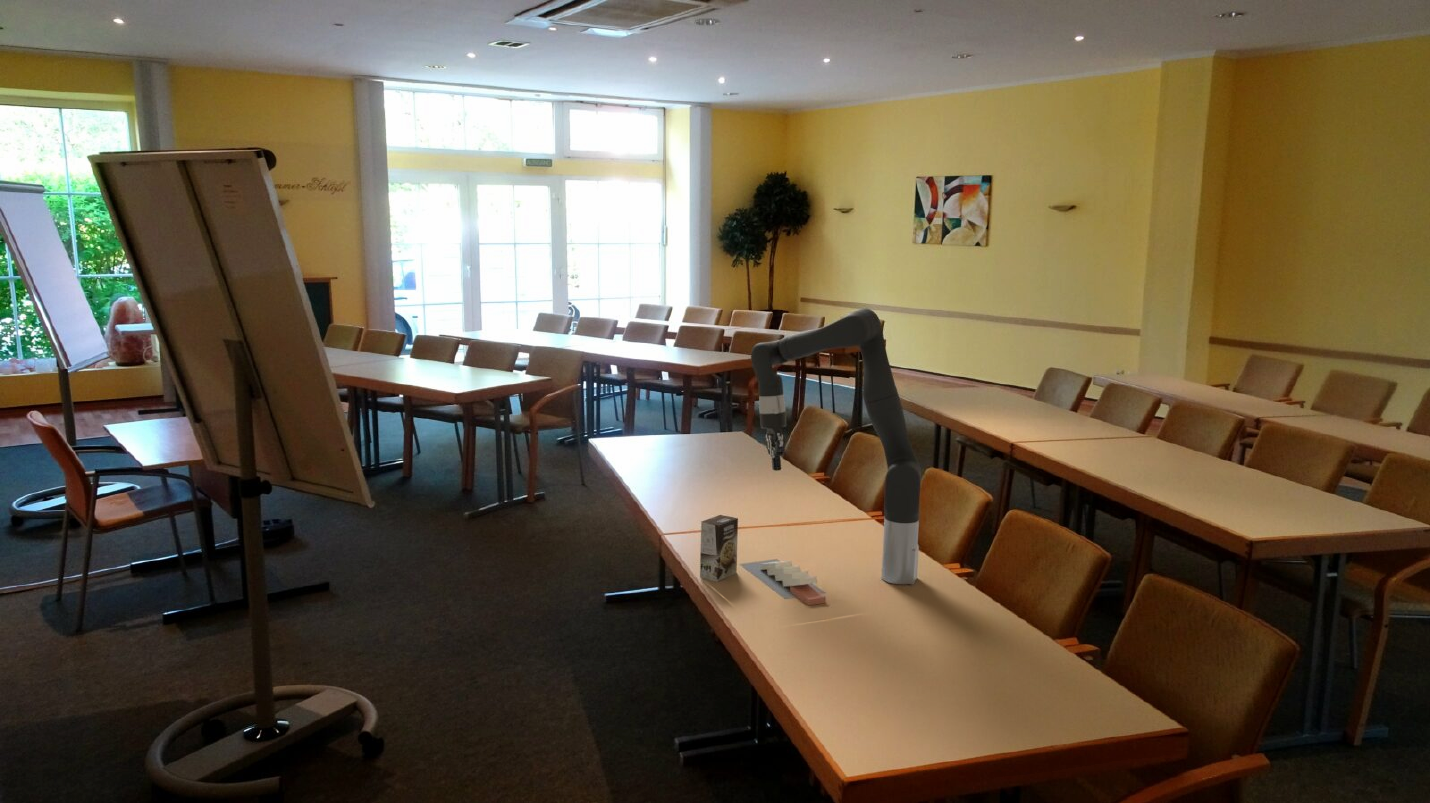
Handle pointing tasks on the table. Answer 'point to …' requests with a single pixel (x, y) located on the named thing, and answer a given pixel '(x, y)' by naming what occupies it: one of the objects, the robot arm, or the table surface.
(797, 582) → the domino
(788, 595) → the mat
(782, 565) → the domino
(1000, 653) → the table surface
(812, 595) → the domino
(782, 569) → the domino
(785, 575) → the domino
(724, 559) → the coffee box
